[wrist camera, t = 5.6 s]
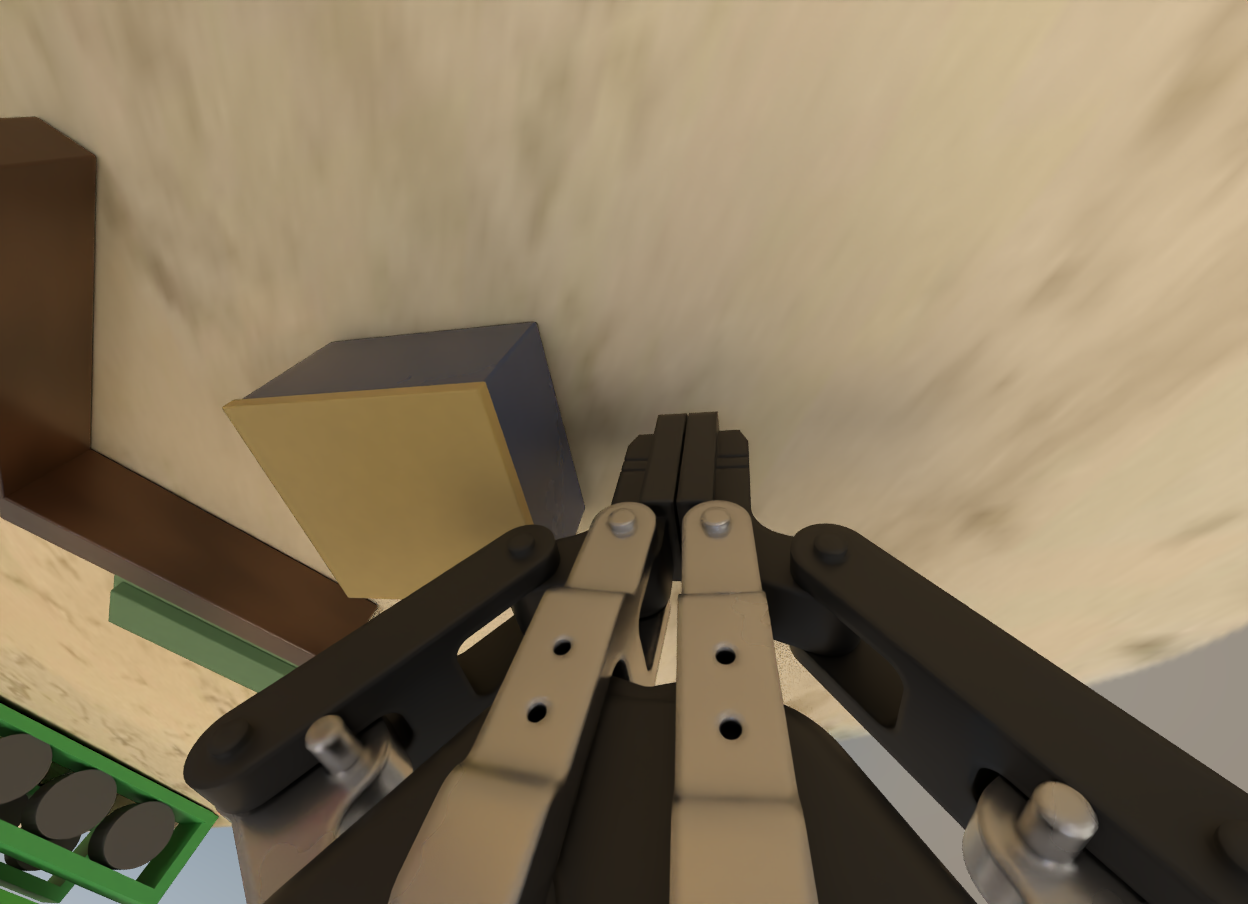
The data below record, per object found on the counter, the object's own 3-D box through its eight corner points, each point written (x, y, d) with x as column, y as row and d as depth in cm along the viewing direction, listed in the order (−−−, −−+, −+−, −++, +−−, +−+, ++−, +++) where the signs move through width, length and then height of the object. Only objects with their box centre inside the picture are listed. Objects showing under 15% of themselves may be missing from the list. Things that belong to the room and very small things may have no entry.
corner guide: (214, 612, 26) (160, 667, 23) (-179, 172, 15) (-354, 189, 13) (388, 620, 23) (347, 682, 21) (66, 108, 13) (-88, 115, 10)
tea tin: (413, 510, 19) (347, 598, 16) (328, 339, 15) (220, 407, 12) (587, 509, 17) (554, 605, 14) (538, 317, 14) (478, 389, 11)
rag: (126, 597, 26) (99, 620, 25) (134, 523, 22) (102, 546, 21) (294, 679, 28) (275, 704, 27) (328, 624, 24) (308, 650, 23)
